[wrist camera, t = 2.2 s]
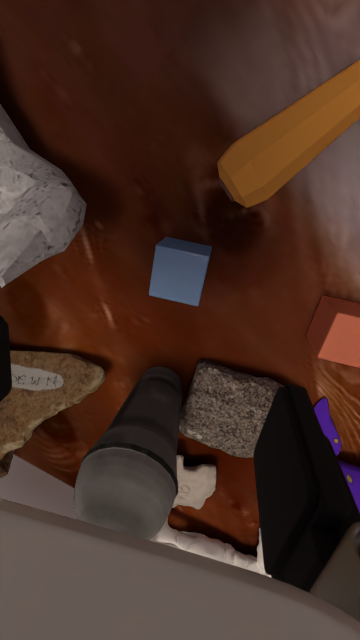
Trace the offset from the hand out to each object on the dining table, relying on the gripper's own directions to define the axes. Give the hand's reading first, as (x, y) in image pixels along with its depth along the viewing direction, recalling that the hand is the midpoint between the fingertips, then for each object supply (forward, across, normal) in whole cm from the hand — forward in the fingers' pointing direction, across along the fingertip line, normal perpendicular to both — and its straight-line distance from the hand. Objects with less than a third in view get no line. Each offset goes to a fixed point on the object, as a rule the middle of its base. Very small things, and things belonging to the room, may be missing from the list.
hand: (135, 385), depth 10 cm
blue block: (+18, +1, 0) cm, 18 cm away
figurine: (+15, -2, +34) cm, 38 cm away
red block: (+18, -13, +2) cm, 22 cm away
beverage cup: (+18, +1, +13) cm, 22 cm away
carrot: (+18, -8, -13) cm, 24 cm away
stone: (+18, -8, +13) cm, 24 cm away
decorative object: (+17, -8, +26) cm, 32 cm away
